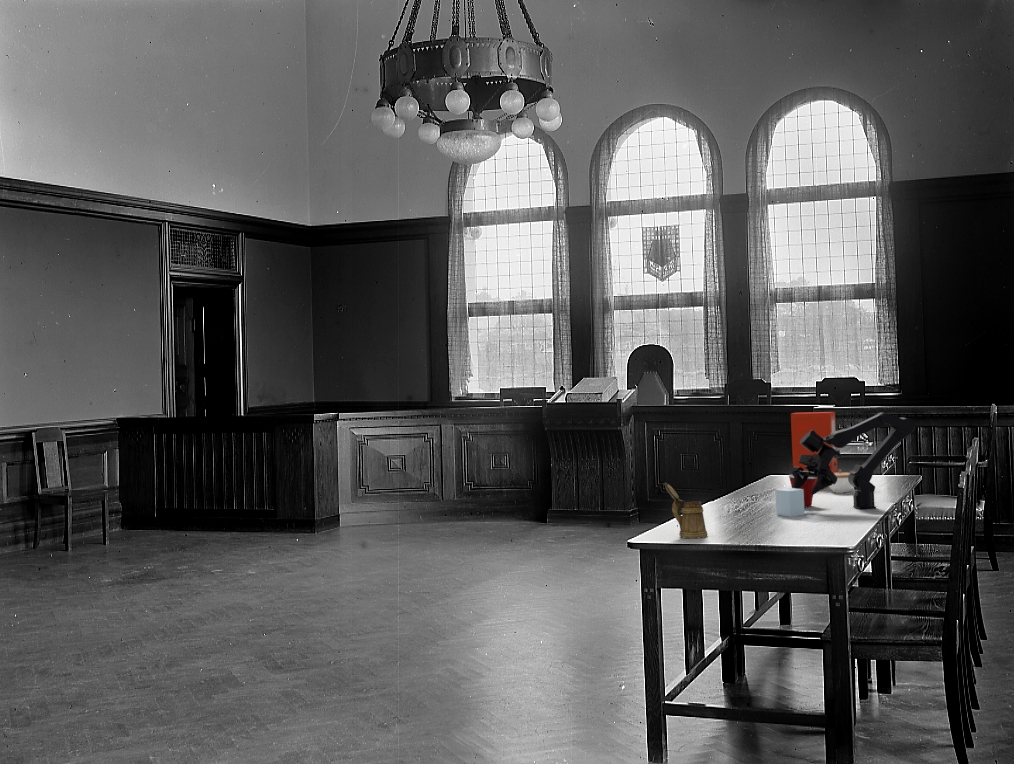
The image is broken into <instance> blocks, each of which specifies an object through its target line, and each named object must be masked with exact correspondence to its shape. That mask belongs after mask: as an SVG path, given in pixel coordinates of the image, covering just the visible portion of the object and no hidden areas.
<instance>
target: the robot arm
mask: <svg viewBox="0 0 1014 764" xmlns="http://www.w3.org/2000/svg"><path fill="white" fill-rule="evenodd" d="M915 424H916V423H915V421H914V420H912V419H911V418H907V417H898V416H894V415H892V414H888V413H886V412H878V413H877V414H875V415H874V416H871V417H869V418H867V419H866V420H864V421H861V422H858V423H856V424H855V425H853V426H850V427H848V428H842V429H839V430H836V431H835V432H832V433H831V434H830V435H829V436H827V437H823V438H822V437H820V436H819V435H818V434H817V433H816V432H815V431H813V430H810V432H808V433H807V434H806V435H805V436H803V438H802V439H801V441H800V444H801V445H803V446H804V447H805V448H806V449H808V450H809V451H810V452H812V453H813V452H814V451H815V452H818V451H819V452H818V454H813V455H803V454H801V456H800V459H799V463H801V464H803V465H806V466H805V468H806V469H808V471H805V470H804V469H803V468H802V467H793V466H792V467H791V469H790V470H789V472H790V474H791V475H793V476H794V485H793V488H796V489H800V488H801V487H802V486H803V485H804V484H805V483H806V482H805V481H806V480H807V479H808V477H814V478H818V480H817V482H816V484H815V486H814V487H813V489H812V492H811V494H812V495H813V496H814V495H816V494H817V493H819V492H820V491H823V490H824V489H826V488H829V486H831V485H832V484H835V483H836V482H837V476H836V475H835V474H834V473H833V471H832V470H831V469H830V468H831V467H830V466H829V465H830V463H831V461H832V460H833V458H836V459H837V460H838V459H840V458H842V454H841V450H840V449H843V448H845V447H846V446H848V445H849V444H850V443H852V442H853V441H854V439H856V438H858V437H860V436H862V435H864V434H865V433H867V432H869V431H873V430H874V429H876V428H878V427H880V426H883V425H886V426H888V427H890V430H889V432H888V435H887V436H886V437H885V438H884V439H883V441H882V442H881V443H880V444H879V446H877V448H876V449H875V450H874V451H873V452H872V453H871V455H870V456H869V457H868V458H867V460H866V461H865V462H863V463H862V464H861V465H859V464H855V465H854V467H853V469H851V470H850V471H849V473H850V474H849V476H848V481H849V483H850V484H851V485H852V486H853V487H852V488H853V491H854V495H852V496H853V508H855V507H856V509H858V508H860V509H859V510H862V509H861V508H868V509H877V508H876V507H877V506H876V505H875V504H876V503H875V490H876V485H874V484H873V483H872V482H871V480H872V477H873V475H874V473H875V472H874V471H875V470H876V469H877V468H878V467H879V466H880V464H881V463H882V462H883V461H884V460H885V458H887V456H888V455H889V454H890V453H891V452H892V450H893V449H894V448H895V447H896V446H897V445H898V443H900V442H901V441H903V440H904V439H907V437H908V436H910V435H911V434H912V433H913V432H914V431H915V430H916V425H915ZM824 443H825V444H824ZM826 444H830V445H831V446H834V447H837V450H835V449H834V448H833V447H831V446H830V447H829V446H827V445H826Z"/></svg>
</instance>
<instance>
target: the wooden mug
mask: <svg viewBox="0 0 1014 764" xmlns="http://www.w3.org/2000/svg"><path fill="white" fill-rule="evenodd" d="M664 487H665V489H666V491H667V492H668V494H669V495H670V496H671V498H672V499H673V500H674V501H673V502H672V507H671V510H672V515H673V516H674V518H675V519H676V521H677V523H678V525H679V529H680V530H679V536H681V537H680V538H682V537H686V538H685V539H690V538H694V539H698V538H697V537H704V538H706V537H705V536H707V535H708V531H707V530H706V529H707V528H706V523H705V518H704V507H703V506H702V502H701V501H689V502H685V501H684V500H682V499H680V497H679V495H678V493H677V491H676V490H675V489H674V488H673V487H672V486H671V485H670V484H669V483H667V482H664ZM680 508H681V509H680ZM679 509H680V512H681V515H680V514H679V512H678V511H679ZM707 537H708V536H707Z"/></svg>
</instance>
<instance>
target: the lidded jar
mask: <svg viewBox="0 0 1014 764" xmlns="http://www.w3.org/2000/svg"><path fill="white" fill-rule="evenodd" d="M849 472H850V471H849ZM849 472H844V471H842V469H838V472H835V473H834V474H835V475H836V476H837V482H836V483H835V484H832V485H831V486H828V488H829V489H830V490H831V491H832V492H833V493H834V492H836V494H844V493H843V492H848V493H850V491H851V490H852V488H853V486H852V485H851V484H850V483H849V481H848V476H849V474H850V473H849Z"/></svg>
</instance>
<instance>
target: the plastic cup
mask: <svg viewBox="0 0 1014 764" xmlns="http://www.w3.org/2000/svg"><path fill="white" fill-rule="evenodd" d="M788 478H789V481H790V486H791V488H793V485H794V476H793V475H792V474H788ZM816 479H817V478H814V477H808V479H807V480H806V481H805V482H806V483H805V484H804V485H803V486H802V487H801V488H800V489H803V491H804V508H806V507H805V506H810V507H812V504H813V498H814V495H812V494H811V492H812V489H813V487H814V485H815V481H816Z"/></svg>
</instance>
